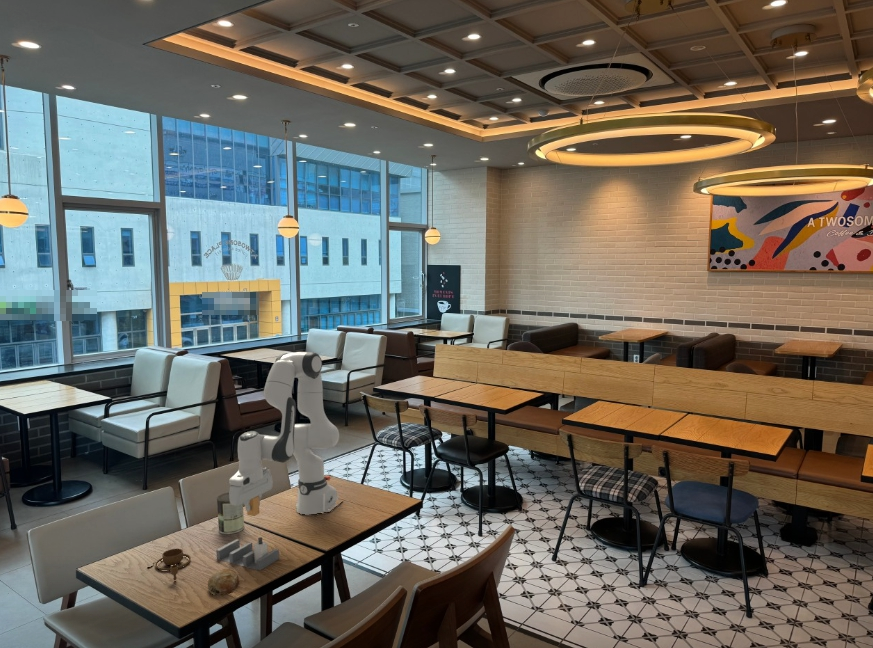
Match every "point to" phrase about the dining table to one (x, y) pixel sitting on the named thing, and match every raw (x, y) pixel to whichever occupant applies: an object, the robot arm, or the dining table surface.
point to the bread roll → (223, 582)
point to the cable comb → (245, 555)
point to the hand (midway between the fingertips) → (253, 508)
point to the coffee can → (229, 515)
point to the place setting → (173, 560)
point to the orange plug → (254, 506)
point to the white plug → (260, 549)
